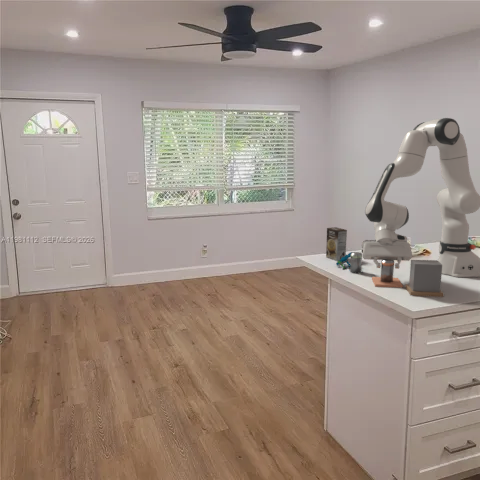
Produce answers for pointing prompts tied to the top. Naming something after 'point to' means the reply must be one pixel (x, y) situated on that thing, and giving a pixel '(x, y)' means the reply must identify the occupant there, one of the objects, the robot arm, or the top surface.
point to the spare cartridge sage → (356, 262)
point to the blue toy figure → (341, 262)
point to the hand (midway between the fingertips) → (388, 267)
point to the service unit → (425, 278)
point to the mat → (379, 283)
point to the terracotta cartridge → (387, 270)
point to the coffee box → (336, 243)
